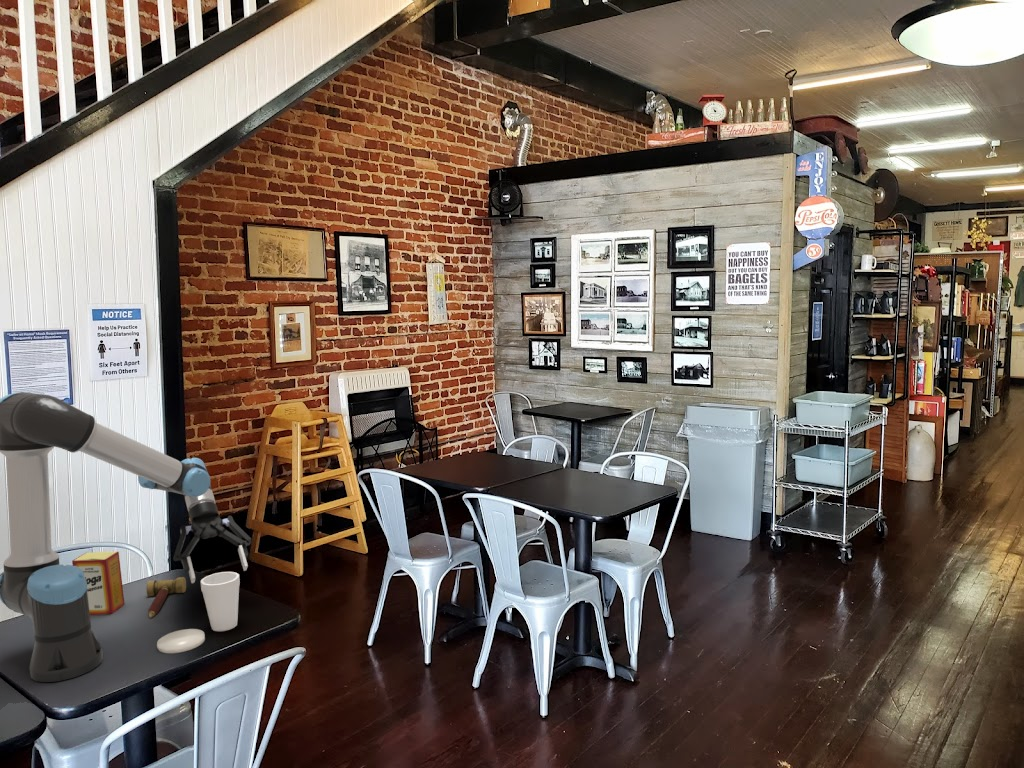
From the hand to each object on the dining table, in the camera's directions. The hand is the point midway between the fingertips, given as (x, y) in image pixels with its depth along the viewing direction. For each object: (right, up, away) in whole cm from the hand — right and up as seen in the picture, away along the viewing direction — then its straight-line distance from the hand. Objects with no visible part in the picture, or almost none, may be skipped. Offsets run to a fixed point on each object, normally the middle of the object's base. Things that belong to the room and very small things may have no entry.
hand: (220, 574), depth 210 cm
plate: (-4, -14, -15) cm, 20 cm away
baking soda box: (-37, -12, +9) cm, 40 cm away
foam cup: (+3, -12, -5) cm, 14 cm away
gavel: (-21, -12, +12) cm, 27 cm away
